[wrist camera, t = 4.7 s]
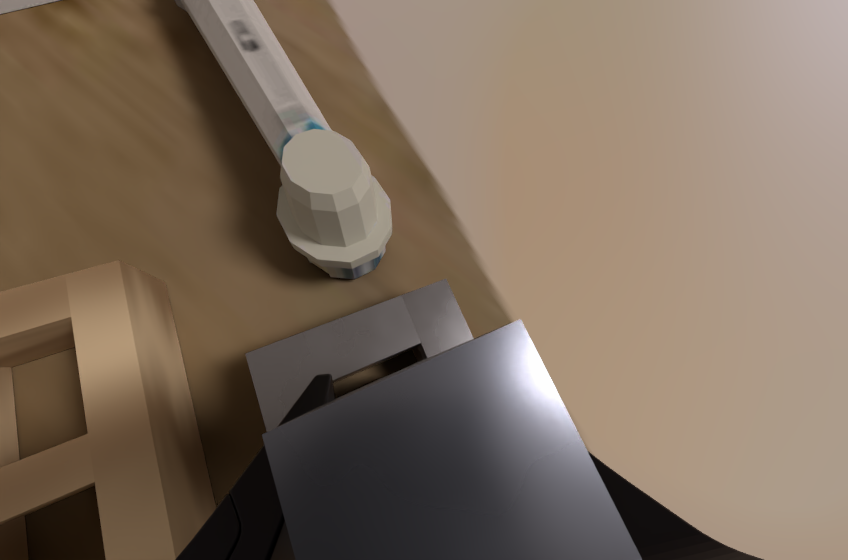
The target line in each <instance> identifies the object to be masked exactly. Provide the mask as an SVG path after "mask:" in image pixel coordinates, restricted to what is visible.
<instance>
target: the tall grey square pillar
mask: <svg viewBox="0 0 848 560" xmlns="http://www.w3.org/2000/svg"><path fill="white" fill-rule="evenodd" d="M262 437H263V441H264V445H265V448H266V452H267V456H268V460H269V463H270V467H271V471H272V474H273V478H274V482H275V485H276V489H277V493H278V496H279V500H280V504H281V508H282V511H283V515H284V519H285V522H286V526H287V530H288V533H289V537H290V541H291V544H292V548H293V552H294V556H295V559H296V560H642V558H641V556H640V554H639V552H638V550H637V548H636V546H635V544H634V542H633V540H632V538H631V536H630V534H629V532H628V530H627V528H626V526H625V524H624V522H623V520H622V518H621V516H620V514H619V512H618V510H617V508H616V506H615V505H614V503H613V501H612V499H611V497H610V495H609V493H608V491H607V489H606V487H605V485H604V483H603V481H602V479H601V477H600V475H599V473H598V471H597V469H596V467H595V465H594V463H593V461H592V459H591V457H590V455H589V453H588V451H587V449H586V447H585V445H584V443H583V441H582V439H581V437H580V435H579V433H578V431H577V429H576V427H575V426H574V424H573V422H572V420H571V418H570V416H569V414H568V412H567V410H566V408H565V406H564V404H563V402H562V400H561V398H560V396H559V394H558V392H557V390H556V388H555V386H554V384H553V382H552V380H551V378H550V376H549V374H548V372H547V370H546V368H545V366H544V364H543V362H542V360H541V358H540V356H539V354H538V352H537V351H536V348H535V346H534V345H533V343H532V341H531V339H530V337H529V335H528V333H527V331H526V329H525V327H524V325H523V323H522V321H521V319H520V320H517V321H515V322H513V323H510V324H508V325H505V326H503V327H501V328H498V329H496V330H493V331H491V332H489V333H486V334H484V335H481V336H479V337H477V338H474V339H472V340H470V341H467V342H465V343H462V344H460V345H458V346H455V347H453V348H450V349H448V350H446V351H443V352H441V353H438V354H436V355H434V356H431V357H429V358H427V359H424V360H422V361H420V362H417V363H415V364H413V365H411V366H408V367H406V368H404V369H402V370H399V371H397V372H395V373H393V374H390V375H388V376H386V377H383V378H381V379H378V380H376V381H374V382H372V383H370V384H368V385H366V386H363V387H361V388H359V389H357V390H354V391H352V392H350V393H348V394H345V395H343V396H341V397H338V398H336V399H334V400H332V401H330V402H328V403H326V404H324V405H322V406H320V407H318V408H315V409H313V410H311V411H309V412H307V413H305V414H303V415H301V416H299V417H297V418H295V419H293V420H291V421H289V422H287V423H285V424H282V425H280V426H278V427H276V428H274V429H272V430H270V431H268V432H266V433H264V434H262Z"/></svg>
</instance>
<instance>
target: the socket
mask: <svg viewBox="0 0 848 560" xmlns="http://www.w3.org/2000/svg"><path fill="white" fill-rule="evenodd" d="M472 339H474V338H473V336H472V334H471V332H470V330H469V328H468V325H467V323H466V321H465V319H464V317H463V314H462V312H461V310H460V308H459V306H458V304H457V301H456V299H455V297H454V295H453V293H452V291H451V288H450V286H449V284H448V282H447V280H446V279H444V280H441V281H439V282H436V283H433V284H431V285H428V286H425V287H422V288H420V289H417V290H414V291H412V292H409V293H406V294H404V295H401V296H398V297H396V298H393V299H390V300H388V301H385V302H382V303H380V304H377V305H374V306H372V307H369V308H366V309H364V310H361V311H358V312H356V313H353V314H350V315H347V316H345V317H342V318H339V319H337V320H334V321H331V322H329V323H326V324H323V325H321V326H318V327H315V328H313V329H310V330H307V331H305V332H302V333H299V334H297V335H294V336H291V337H289V338H286V339H283V340H281V341H278V342H275V343H272V344H270V345H267V346H264V347H262V348H259V349H256V350H254V351H251V352H248V353H246V354H245V355H246V358H247V362H248V365H249V369H250V373H251V376H252V380H253V384H254V387H255V391H256V394H257V398H258V402H259V405H260V409H261V413H262V416H263V420H264V423H265V427H266V431H267V432H268V431H270V430H272V429H274V428H276V427H277V426H278V425H279V424H280V422H281V421H282V420H283V418H284V417H285V416H286V414H287V413H288V412H289V410H290V409H291V408H292V406H293V405H294V404H295V402H296V401H297V400H298V398H299V397H300V396H301V394H302V393H303V392H304V390H305V389H306V388H307V386H308V385H309V384H310V382H311V381H312V380H313V378H314V377H315V376H316V375H319V374H331V375H332V380H333V383H335V382H338V381H340V380H342V379H345V378H347V377H349V376H352V375H354V374H356V373H359V372H361V371H363V370H366V369H368V368H370V367H373V366H375V365H377V364H380V363H382V362H384V361H387V360H389V359H391V358H394V357H396V356H398V355H401V354H403V353H405V352H408V351H410V350H413V352H414V355H415V357H416V359H417V362H420V361H422V360H424V359H427V358H429V357H431V356H434V355H436V354H438V353H441V352H443V351H446V350H448V349H450V348H453V347H455V346H458V345H460V344H462V343H465V342H467V341H470V340H472ZM334 399H335V396H334Z"/></svg>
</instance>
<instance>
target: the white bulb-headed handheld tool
mask: <svg viewBox="0 0 848 560" xmlns="http://www.w3.org/2000/svg"><path fill="white" fill-rule="evenodd" d="M175 2H176V4H177V6H178V7H180V8H182V9H183V10H185V11H187V12H188V14H189V15H190V17H191V19H192V20H193V22H194V24H195V25H196V27H197V29H198V30H199V32H200V33H201V35H202V37H203V38H204V40H205V42H206V43H207V45H208V47H209V48H210V50H211V52H212V53H213V55H214V57H215V58H216V60H217V62H218V63H219V65H220V67H221V68H222V70H223V72H224V73H225V75H226V76H227V78H228V80H229V81H230V83H231V85H232V86H233V88H234V90H235V91H236V93H237V95H238V96H239V98H240V100H241V101H242V103H243V105H244V106H245V108H246V110H247V111H248V113H249V115H250V116H251V118H252V119H253V121H254V123H255V124H256V126H257V128H258V129H259V131H260V133H261V134H262V136H263V138H264V139H265V141H266V143H267V144H268V146H269V148H270V149H271V151H272V153H273V154H274V156H275V158H276V159H277V161H278V162H279V164H280V166H281V172H280V179H281V182H282V186H281V187H280V188H279V196H278V204H277V213H276V215H277V217H278V219H279V221H280V223H281V225H282V227H283V229H284V231H285V233H286V235H287V237H288V239H289V241H290V243H291V244H292V246H293V248H294V249H295V250H297V251H298V252H300V253H301V254H303V255H304V256H306V257H307V258H308V260H309V262H310V263H313V264H315V265H316V266H318V267H319V268H321V269H322V270H324V271H325V272H327V273H328V274H330V277H337V278H348V279H356V278H358V277H360V276H362V275H364V274H366V273H368V272H370V271H372V270H375V268H376V267H377V265H378V263H379V262H380V260H381V258H382V256H383V255H384V253H385V245H386V243H387V241H388V240H389V238H390V236H391V235H392V219H391V205H390V199H389V197H388V196H387V195H386V193H385V192H384V190H383V189H382V187H381V186H380V184H379V183H378V182H377V180H376V179H375V177H373V176H371V172H370V168H369V166H368V164H367V163H366V161H365V160H364V158H363V157H362V156H361V154H360V153H359V151H358V150H357V148H356V147H355V145H354V144H353V143H352V141H351V140H349V139H347V138H345V137H344V136H342V135H340V134H338V133H336V132H335V131H332V130H331V129H330V127H329V125H328V124H327V122H326V120H325V119H324V117H323V115H322V114H321V112H320V110H319V109H318V107H317V105H316V104H315V102H314V100H313V99H312V97H311V95H310V94H309V92H308V90H307V89H306V87H305V85H304V84H303V82H302V80H301V79H300V77H299V75H298V74H297V72H296V70H295V69H294V67H293V65H292V64H291V62H290V60H289V59H288V57H287V55H286V54H285V52H284V50H283V49H282V47H281V45H280V44H279V42H278V40H277V39H276V37H275V35H274V34H273V32H272V30H271V29H270V27H269V25H268V24H267V22H266V20H265V19H264V17H263V15H262V14H261V12H260V10H259V9H258V7H257V5H256V4H255V2H254V0H175Z"/></svg>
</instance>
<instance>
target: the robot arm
mask: <svg viewBox="0 0 848 560" xmlns="http://www.w3.org/2000/svg"><path fill="white" fill-rule="evenodd" d="M332 400H334V389H333V380H332V375H331V374H319V375H316V376H315V377H314V378H313V380H312V381H311V382H310V384H309V385H308V386H307V388H306V389H305V390H304V392H303V393H302V394H301V396H300V397H299V398H298V400H297V401H296V402H295V404H294V405H293V406H292V408H291V409H290V410H289V412H288V413H287V414H286V416H285V417H284V418H283V420H282V421H281V422H280V424H279V425H278V426H280V425H282V424H285V423H287V422H289V421H291V420H293V419H295V418H297V417H299V416H301V415H303V414H305V413H307V412H309V411H311V410H313V409H315V408H318V407H320V406H322V405H324V404H326V403H328V402H330V401H332ZM278 426H277V427H278ZM588 453H589V455H590V457H591V459H592V461H593V463H594V465H595V467H596V469H597V471H598V473H599V475H600V477H601V479H602V481H603V483H604V485H605V487H606V489H607V491H608V493H609V495H610V497H611V499H612V501H613V503H614V505H615V506H616V508H617V510H618V512H619V514H620V516H621V518H622V520H623V522H624V524H625V526H626V528H627V530H628V532H629V534H630V536H631V538H632V540H633V542H634V544H635V546H636V548H637V550H638V552H639V554H640V556H641V558H642V560H763V559H761V558H757V557H754V556H751V555H748V554H746V553H743V552H740V551H737V550H735V549H733V548H730V547H728V546H726V545H724V544H722V543H720V542H718V541H716V540H714V539H712V538H711V537H709V536H707V535H706V534H703V533H702V532H701V531H699V530H697V529H696V528H695V527H693V526H692V525H690V524H689V523H687V522H686V521H684V520H683V519H681V518H680V517H679V516H677V515H676V514H674V513H673V512H671V511H670V510H669V509H667V508H666V507H664V506H663V505H661V504H660V503H658V502H657V501H656V500H654V499H653V498H651V497H650V496H648V495H647V494H646V493H644V492H643V491H641V490H640V489H638V488H637V487H635V486H634V485H632V484H631V483H630V482H628V481H627V480H626V479H624V478H623V477H621V476H620V475H618V474H617V473H616V472H615V471H613V470H612V469H610V468H609V467H608V466H606V465H605V464H604V463H602V462H601V461H600V460H599V459H597V458H596V457H595V456H593V455H592V454H591V453H590V452H588ZM229 493H230V494H227V495H226V496H225V497H224V498H223V500H222V501H221V502H220V504H219V505H218V506H217V508H216V509H215V510H214V512H213V513H212V514H211V516H210V517H209V518H208V520H207V521H206V522H205V523H204V525H203V526H202V527H201V528H200V530H199V531H198V532H197V534H196V535H195V536H194V537H193V539H192V540H191V541H190V542H189V544H188V545H187V546H186V547H185V548H184V550H183V551H182V552H181V553H180V554H179V555H178V557H177V558H176V559H175V560H296V559H295V556H294V552H293V548H292V544H291V541H290V537H289V533H288V530H287V526H286V522H285V519H284V515H283V511H282V508H281V504H280V500H279V496H278V493H277V489H276V485H275V482H274V478H273V474H272V471H271V467H270V463H269V460H268V456H267V452H266V448H265V445H263V446H262V448H261V449H260V450H259V452H258V453H257V454H256V456H255V457H254V459H253V460H252V461H251V463H250V464H249V465H248V467H247V468H246V469H245V471H244V472H243V473H242V475H241V476H240V477H239V479H238V480H237V481H236V483H235V484H234V485H233V487H232V488H231V489H230V491H229Z"/></svg>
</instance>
